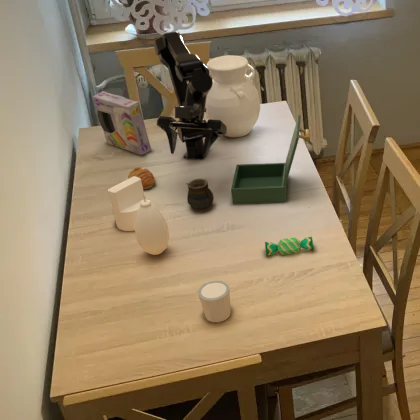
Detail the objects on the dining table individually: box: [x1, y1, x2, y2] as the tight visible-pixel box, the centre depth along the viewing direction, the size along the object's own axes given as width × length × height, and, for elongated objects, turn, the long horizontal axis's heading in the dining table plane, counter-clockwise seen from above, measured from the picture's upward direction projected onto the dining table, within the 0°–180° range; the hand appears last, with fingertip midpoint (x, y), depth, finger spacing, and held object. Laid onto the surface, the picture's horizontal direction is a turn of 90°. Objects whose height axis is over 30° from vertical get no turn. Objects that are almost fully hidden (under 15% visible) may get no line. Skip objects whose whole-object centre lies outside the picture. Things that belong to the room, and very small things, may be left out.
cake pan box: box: [92, 90, 152, 156], centre depth 214 cm, size 19×5×18 cm, turn 55°
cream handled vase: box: [205, 54, 261, 138], centre depth 221 cm, size 19×18×25 cm
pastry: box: [127, 166, 157, 190], centre depth 197 cm, size 9×7×4 cm
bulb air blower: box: [134, 192, 170, 256], centre depth 163 cm, size 8×8×18 cm
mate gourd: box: [185, 178, 215, 212], centre depth 183 cm, size 7×8×10 cm
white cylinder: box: [197, 280, 232, 323], centre depth 146 cm, size 7×7×7 cm
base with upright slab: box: [107, 176, 145, 232], centre depth 177 cm, size 9×9×12 cm
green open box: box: [230, 162, 289, 205], centre depth 192 cm, size 15×15×5 cm
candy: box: [264, 236, 314, 257], centre depth 167 cm, size 12×3×4 cm
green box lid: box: [283, 114, 311, 186], centre depth 187 cm, size 16×15×4 cm
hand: (187, 154), depth 184 cm, fingers open, 9 cm apart
